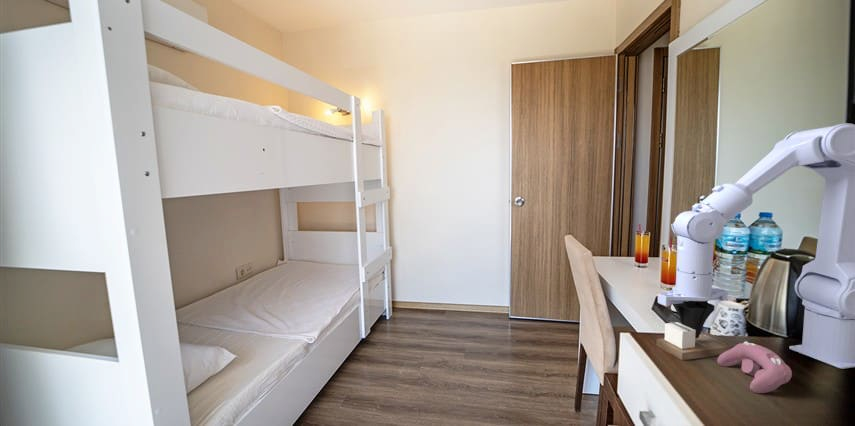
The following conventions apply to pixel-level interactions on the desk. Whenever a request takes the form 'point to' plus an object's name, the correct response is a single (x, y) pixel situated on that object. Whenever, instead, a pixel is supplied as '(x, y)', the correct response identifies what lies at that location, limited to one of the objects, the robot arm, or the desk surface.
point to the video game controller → (751, 359)
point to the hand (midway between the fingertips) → (691, 336)
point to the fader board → (697, 347)
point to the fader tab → (680, 335)
